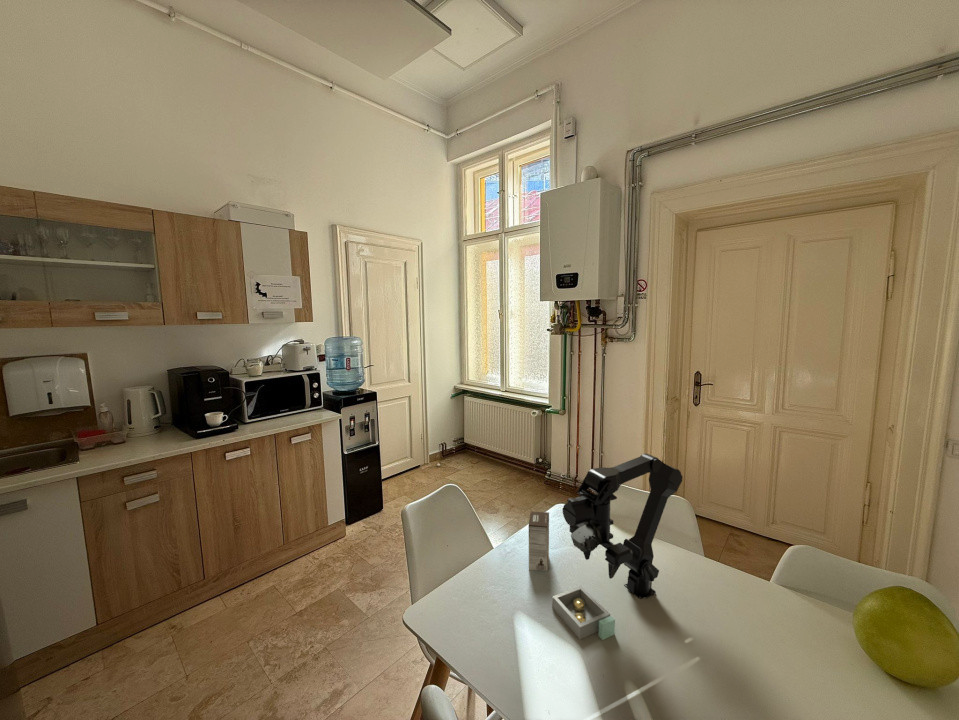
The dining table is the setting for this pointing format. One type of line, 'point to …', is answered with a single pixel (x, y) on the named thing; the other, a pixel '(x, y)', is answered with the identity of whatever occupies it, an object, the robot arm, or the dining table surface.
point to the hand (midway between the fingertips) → (598, 568)
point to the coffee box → (539, 541)
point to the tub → (566, 612)
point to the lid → (606, 627)
